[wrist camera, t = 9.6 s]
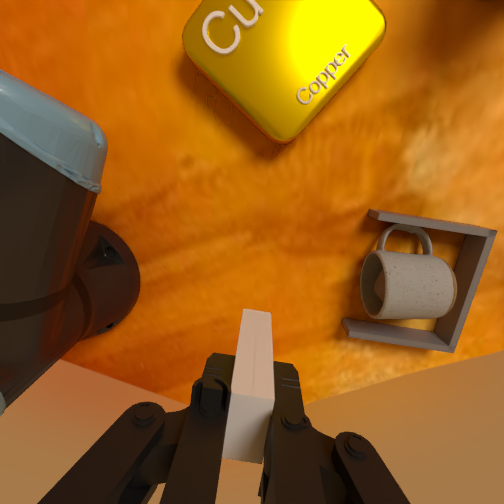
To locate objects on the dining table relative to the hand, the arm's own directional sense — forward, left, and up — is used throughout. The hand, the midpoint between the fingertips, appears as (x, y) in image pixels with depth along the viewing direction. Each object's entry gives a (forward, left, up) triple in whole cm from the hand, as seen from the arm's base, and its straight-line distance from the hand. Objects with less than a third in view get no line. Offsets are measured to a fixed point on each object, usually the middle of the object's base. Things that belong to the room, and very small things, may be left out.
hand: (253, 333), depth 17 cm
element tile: (-1, +21, -23) cm, 31 cm away
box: (+19, -2, -22) cm, 29 cm away
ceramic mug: (+17, 0, -23) cm, 28 cm away
